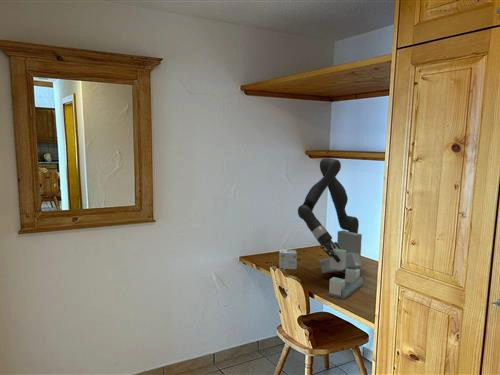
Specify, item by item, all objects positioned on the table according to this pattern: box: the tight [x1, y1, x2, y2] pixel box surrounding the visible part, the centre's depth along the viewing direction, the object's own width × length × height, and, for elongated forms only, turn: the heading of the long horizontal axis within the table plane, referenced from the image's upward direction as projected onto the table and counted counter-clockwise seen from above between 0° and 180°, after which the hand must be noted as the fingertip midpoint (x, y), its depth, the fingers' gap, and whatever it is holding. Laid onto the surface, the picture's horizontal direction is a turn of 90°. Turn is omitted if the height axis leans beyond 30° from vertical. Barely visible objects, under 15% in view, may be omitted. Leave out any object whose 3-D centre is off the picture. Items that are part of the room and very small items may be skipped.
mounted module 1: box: [328, 276, 345, 296], centre depth 203 cm, size 5×6×7 cm
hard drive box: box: [319, 253, 363, 274], centre depth 230 cm, size 16×8×20 cm
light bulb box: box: [278, 249, 298, 270], centre depth 248 cm, size 11×7×11 cm, turn 92°
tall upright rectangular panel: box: [336, 229, 362, 275], centre depth 239 cm, size 14×6×25 cm, turn 41°
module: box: [329, 249, 346, 271], centre depth 213 cm, size 5×7×10 cm
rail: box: [327, 276, 364, 300], centre depth 212 cm, size 26×9×4 cm, turn 144°
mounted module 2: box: [344, 267, 361, 283], centre depth 220 cm, size 5×6×7 cm
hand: (341, 260), depth 212 cm, fingers closed on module, 5 cm apart
